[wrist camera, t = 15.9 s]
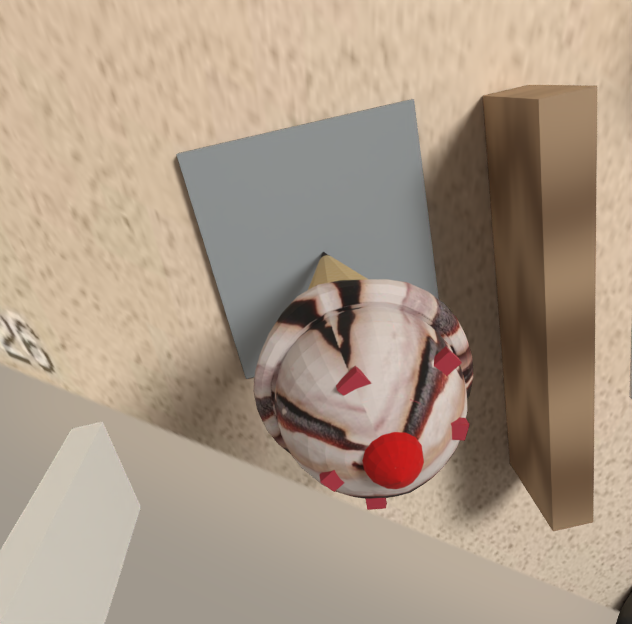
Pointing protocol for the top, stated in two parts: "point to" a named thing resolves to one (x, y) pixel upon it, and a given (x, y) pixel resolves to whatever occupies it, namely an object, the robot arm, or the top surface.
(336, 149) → the grey mat
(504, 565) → the top surface
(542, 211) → the walnut wall
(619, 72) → the top surface
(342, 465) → the ice cream cone
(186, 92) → the top surface
